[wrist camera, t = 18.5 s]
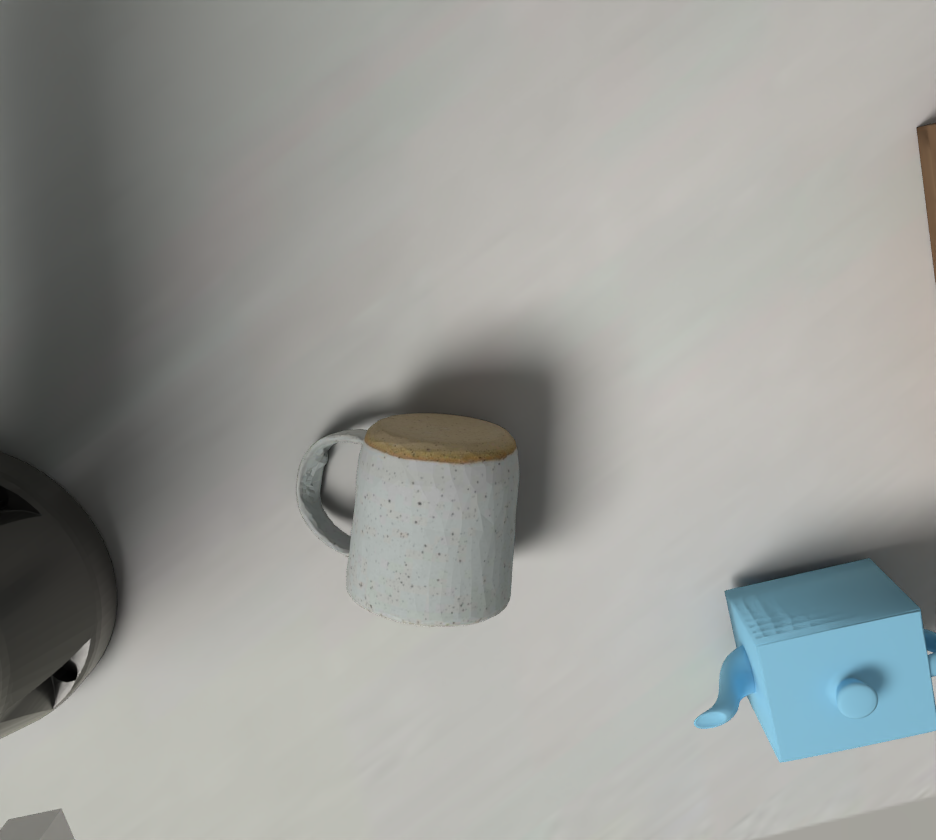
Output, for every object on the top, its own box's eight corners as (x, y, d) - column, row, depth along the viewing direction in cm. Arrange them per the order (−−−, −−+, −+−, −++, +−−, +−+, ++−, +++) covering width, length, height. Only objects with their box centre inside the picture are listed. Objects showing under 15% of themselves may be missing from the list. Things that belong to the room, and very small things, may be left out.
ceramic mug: (522, 410, 43) (524, 457, 35) (510, 567, 45) (509, 642, 37) (304, 395, 43) (261, 438, 36) (302, 551, 45) (261, 623, 38)
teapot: (678, 699, 46) (712, 794, 39) (654, 597, 45) (684, 676, 38) (909, 650, 45) (988, 738, 38) (892, 543, 44) (970, 613, 37)
